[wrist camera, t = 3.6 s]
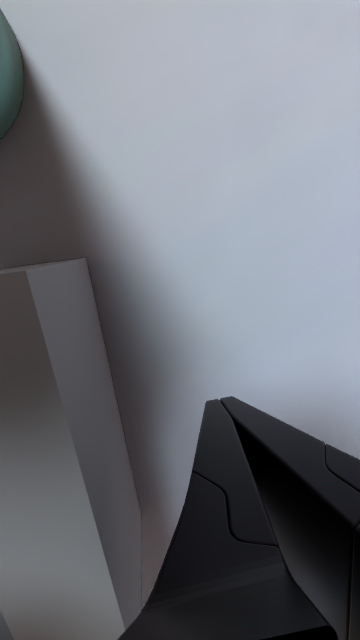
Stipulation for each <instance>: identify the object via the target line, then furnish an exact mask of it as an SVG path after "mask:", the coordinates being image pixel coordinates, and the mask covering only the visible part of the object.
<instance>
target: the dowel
mask: <svg viewBox="0 0 360 640" xmlns="http://www.w3.org/2000/svg"><path fill="white" fill-rule="evenodd" d="M23 93H24V69H23V63H22V57H21V53H20V50H19V46H18V43H17V40H16V38H15V36H14V33H13V31H12V29H11V27H10V25H9V23H8V21H7V19H6V17H5V16H4V14H3V12H2V11H1V9H0V139H1V138H2V137H3V135H4V134H5V133H6V132H7V131H8V130H9V129H10V127H11V126H12V124H13V123H14V121H15V119H16V117H17V115H18V112H19V109H20V106H21V103H22V98H23Z"/></svg>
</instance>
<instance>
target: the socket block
mask: <svg viewBox="0 0 360 640" xmlns="http://www.w3.org/2000/svg"><path fill="white" fill-rule="evenodd" d="M141 551H142V515H141V510H140V506H139V501H138V496H137V492H136V487H135V483H134V478H133V473H132V469H131V464H130V459H129V455H128V450H127V446H126V441H125V436H124V432H123V427H122V422H121V418H120V413H119V409H118V404H117V399H116V395H115V390H114V385H113V381H112V376H111V372H110V367H109V362H108V358H107V353H106V348H105V344H104V339H103V335H102V330H101V325H100V321H99V316H98V311H97V307H96V302H95V298H94V293H93V288H92V284H91V279H90V274H89V270H88V265H87V261H86V258H79V259H72V260H65V261H57V262H50V263H43V264H35V265H28V266H21V267H13V268H6V269H0V640H117V639H118V638H119V637H120V636H121V635H122V634H123V633H124V631H125V630H126V629H127V628H128V627H129V626H130V625H131V623H132V622H133V621H134V620H135V619H136V618H137V616H138V615H139V614H140V612H141Z"/></svg>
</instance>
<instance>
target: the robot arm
mask: <svg viewBox="0 0 360 640" xmlns="http://www.w3.org/2000/svg"><path fill="white" fill-rule="evenodd" d="M117 640H360V460H359V459H357V458H355V457H353V456H351V455H349V454H347V453H345V452H343V451H340V450H338V449H336V448H334V447H332V446H330V445H328V444H326V445H325V443H324V442H322V441H320V440H318V439H316V438H314V437H312V436H310V435H308V434H306V433H304V432H302V431H300V430H298V429H296V428H294V427H292V426H290V425H288V424H286V423H284V422H282V421H280V420H278V419H276V418H274V417H272V416H270V415H268V414H266V413H264V412H262V411H260V410H258V409H256V408H254V407H252V406H250V405H248V404H246V403H244V402H242V401H240V400H238V399H236V398H235V397H232V396H230V397H225V398H221V399H220V400H219V399H215V400H209V401H206V403H205V408H204V413H203V418H202V423H201V428H200V433H199V438H198V443H197V448H196V453H195V458H194V463H193V468H192V474H191V477H190V482H189V487H188V491H187V495H186V499H185V503H184V506H183V509H182V512H181V515H180V518H179V521H178V524H177V526H176V529H175V532H174V535H173V537H172V540H171V543H170V545H169V548H168V551H167V553H166V556H165V559H164V562H163V564H162V567H161V570H160V572H159V575H158V578H157V580H156V583H155V585H154V588H153V590H152V592H151V594H150V597H149V599H148V601H147V602H146V604H145V606H144V608H143V609H142V611H141V612H140V614H139V615H138V616H137V618H136V619H135V620H134V621H133V622H132V623H131V625H130V626H129V627H128V628H127V629H126V630H125V631H124V633H123V634H122V635H121V636H120V637H119V638H118V639H117Z"/></svg>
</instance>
